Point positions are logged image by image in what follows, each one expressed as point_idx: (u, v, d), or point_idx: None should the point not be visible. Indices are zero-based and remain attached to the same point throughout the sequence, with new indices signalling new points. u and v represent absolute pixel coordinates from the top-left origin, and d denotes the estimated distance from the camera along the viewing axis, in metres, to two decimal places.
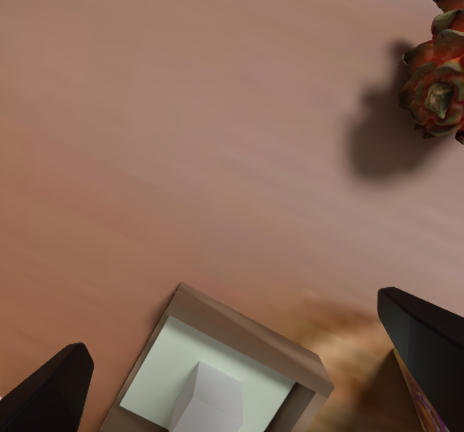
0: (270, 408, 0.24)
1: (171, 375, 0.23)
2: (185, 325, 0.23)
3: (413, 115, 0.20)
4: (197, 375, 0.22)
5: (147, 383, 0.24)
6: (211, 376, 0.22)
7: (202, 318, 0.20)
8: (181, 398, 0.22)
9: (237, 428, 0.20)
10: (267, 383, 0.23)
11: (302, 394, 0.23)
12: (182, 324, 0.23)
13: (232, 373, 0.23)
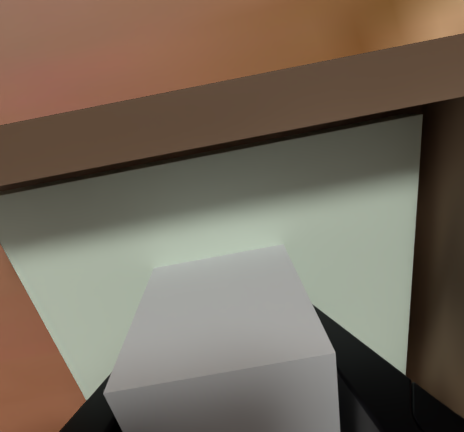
0: (394, 250, 0.09)
1: None
2: (45, 219, 0.08)
3: None
4: (141, 306, 0.07)
5: None
6: (189, 283, 0.07)
7: None
8: None
9: (329, 378, 0.05)
10: (348, 202, 0.08)
11: None
12: (36, 222, 0.08)
13: (248, 241, 0.08)
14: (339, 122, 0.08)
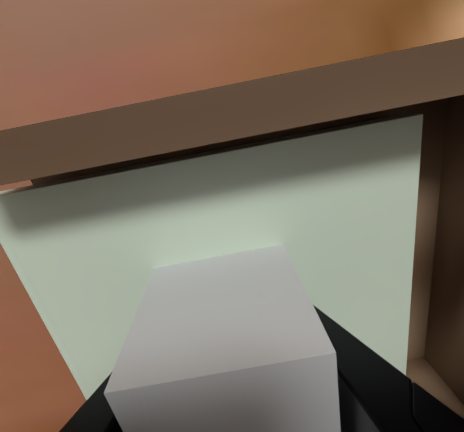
0: (394, 250, 0.09)
1: None
2: (46, 219, 0.08)
3: None
4: (141, 306, 0.07)
5: None
6: (189, 283, 0.07)
7: (30, 125, 0.05)
8: None
9: (330, 378, 0.05)
10: (348, 202, 0.08)
11: None
12: (37, 222, 0.08)
13: (248, 241, 0.08)
14: (370, 115, 0.08)
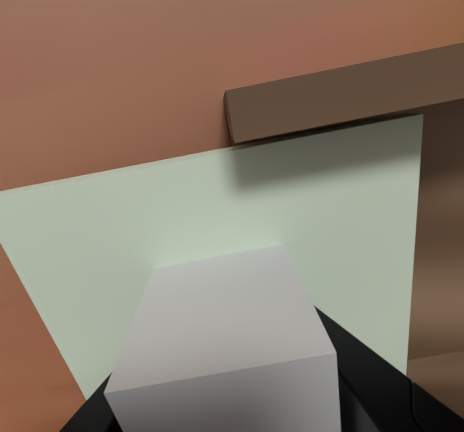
0: (394, 250, 0.09)
1: None
2: (46, 219, 0.08)
3: None
4: (141, 306, 0.07)
5: None
6: (190, 283, 0.07)
7: (358, 64, 0.05)
8: None
9: (330, 378, 0.05)
10: (348, 201, 0.08)
11: None
12: (37, 222, 0.08)
13: (248, 241, 0.08)
14: None
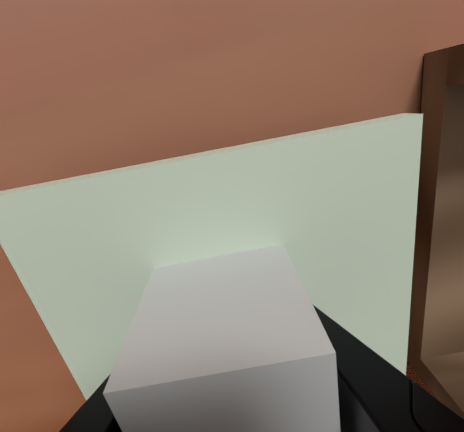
0: (394, 250, 0.09)
1: None
2: (45, 219, 0.08)
3: None
4: (140, 306, 0.07)
5: None
6: (189, 283, 0.07)
7: None
8: None
9: (330, 378, 0.05)
10: (348, 201, 0.08)
11: None
12: (36, 222, 0.08)
13: (248, 241, 0.08)
14: None
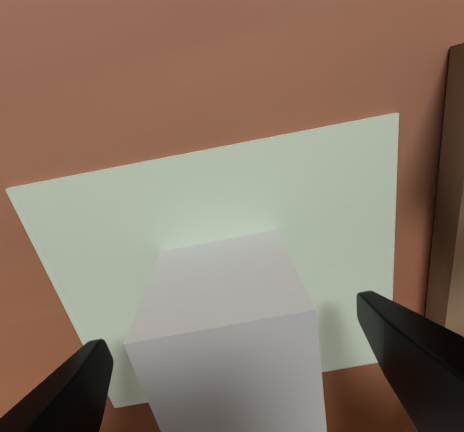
0: (377, 235, 0.10)
1: None
2: (65, 206, 0.09)
3: None
4: (151, 281, 0.08)
5: (118, 353, 0.11)
6: (193, 262, 0.08)
7: None
8: None
9: (312, 332, 0.06)
10: (334, 191, 0.09)
11: None
12: (57, 209, 0.09)
13: (245, 226, 0.09)
14: None
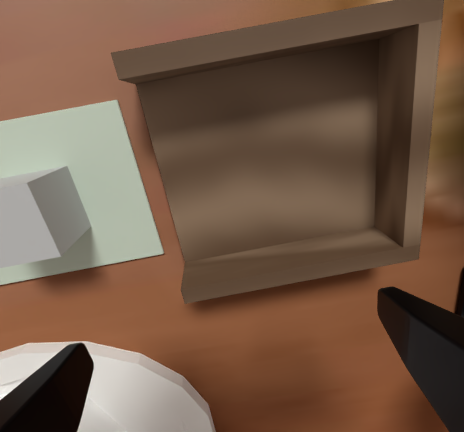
0: (127, 170, 0.17)
1: None
2: None
3: None
4: None
5: None
6: (8, 179, 0.16)
7: (172, 41, 0.11)
8: None
9: (30, 195, 0.13)
10: (94, 143, 0.16)
11: (398, 66, 0.14)
12: None
13: (48, 163, 0.17)
14: (335, 55, 0.15)
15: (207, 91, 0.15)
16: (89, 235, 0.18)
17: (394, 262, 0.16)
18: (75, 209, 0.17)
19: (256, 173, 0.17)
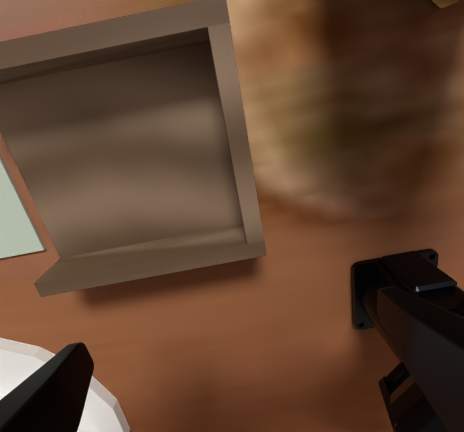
0: None
1: None
2: None
3: None
4: None
5: None
6: None
7: None
8: None
9: None
10: None
11: (214, 67, 0.14)
12: None
13: None
14: (169, 58, 0.15)
15: (50, 93, 0.16)
16: None
17: (242, 258, 0.17)
18: None
19: (113, 172, 0.17)
